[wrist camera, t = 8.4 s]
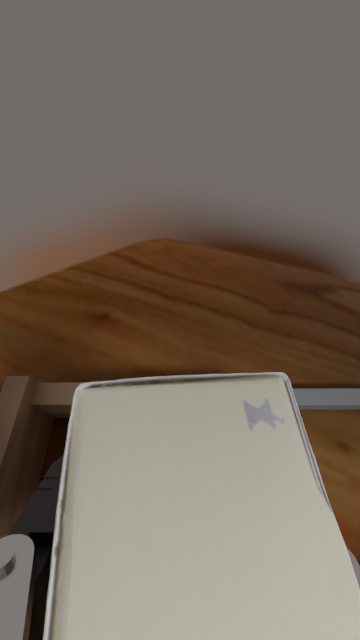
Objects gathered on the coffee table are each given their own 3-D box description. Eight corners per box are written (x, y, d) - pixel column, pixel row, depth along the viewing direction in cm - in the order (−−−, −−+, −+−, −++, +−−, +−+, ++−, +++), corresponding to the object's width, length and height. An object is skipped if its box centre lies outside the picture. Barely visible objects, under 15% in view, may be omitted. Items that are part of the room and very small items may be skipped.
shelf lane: (261, 398, 17) (278, 374, 14) (310, 719, 11) (367, 820, 7) (40, 399, 18) (6, 375, 14) (-46, 709, 11) (-150, 803, 8)
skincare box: (111, 457, 15) (69, 360, 5) (189, 449, 16) (286, 353, 6) (106, 625, 12) (-58, 1396, 2) (206, 606, 12) (527, 1044, 2)
